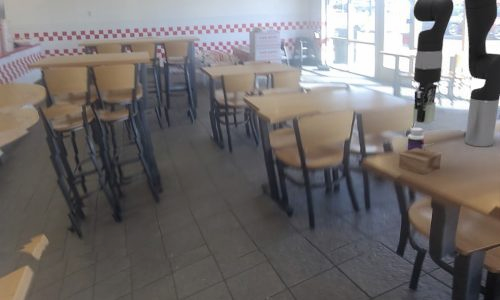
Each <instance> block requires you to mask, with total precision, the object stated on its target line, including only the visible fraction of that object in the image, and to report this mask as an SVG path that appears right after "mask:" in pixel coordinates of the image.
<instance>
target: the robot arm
mask: <svg viewBox="0 0 500 300" xmlns="http://www.w3.org/2000/svg"><path fill="white" fill-rule="evenodd" d="M497 2H498V1H497V0H464V8H465V9H464V11H465V18H466V25H467V38H468V60H467V61H468V71H469V75H470V76H471V77H472V78H474V79H478V80H484V83H483V86H482V87H479V88H475V89H472V90H471V92H470V97H469V98H470V99H469V107H468V114H467V115H468V116H467V124H466V130H465V131H466V132H465V136H464V137H465V138H464V143H465V144H466V145H469V146H474V147H480V148H481V147H483V148H485V147H491V146H492V145H493V144H494V136H495V132H496V126H497V125H496V123H497V119H498V118H497V116H498V110H499V102H500V53H487V47H486V44H487V43H486V42H487V38H488V35H489V33H490V31H491V30H492V28H493V26H494V24H495V22H496V20H497V16H498V3H497ZM453 12H454V1H453V0H416V2H415V4H414V7H413V16H414V18H415V19H416V20H417V21H419V22H424V23H425V22H427V23H429V22H434V24H433V25H432V27H431V28H429V29H425V30H422V31H419V33H418V36H417V48H416V55H415V59H414V60H415V62H414V71H413V72H414V74H413V81H414V82H416V83H419V86H418V88H417V90H415V91H414V104H415V109H417V122H424V121H425V110H426V105H427V103H429V102H435V100H436V92H437V88H438V85H437V84H435V83H439V82H441V77H442V65H443V50H444V49H443V47H444V37H445V33H446V30H447V28H448V25H449V22H450V20H451V18H452V15H453ZM420 103H421V106H420Z"/></svg>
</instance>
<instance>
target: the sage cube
mask: <svg viewBox="0 0 500 300" xmlns="http://www.w3.org/2000/svg"><path fill="white" fill-rule="evenodd" d="M420 106H421V103H420ZM435 112H436V102H435V101H434V102H429V103H427V105H426V110H425V121H424V122H417V109H415V103H413V112H412V113H413V114H412V123H415V124H422V125H423V124H424V125H430V124H431V123H433V122H434V121H435V114H436V113H435Z"/></svg>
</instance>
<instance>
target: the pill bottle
mask: <svg viewBox="0 0 500 300" xmlns="http://www.w3.org/2000/svg"><path fill="white" fill-rule="evenodd" d="M409 132H410V133H409V134H408V135H407V142H406V143H407V145H406V147H407V148H406V151H409V150H412V149H414V148H419V149H423V150H424V145H425V135H424V134H423V133H424V129H423V128H421V127H411V128H410V131H409Z"/></svg>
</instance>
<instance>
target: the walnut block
mask: <svg viewBox="0 0 500 300" xmlns="http://www.w3.org/2000/svg"><path fill="white" fill-rule="evenodd" d="M441 159H442V154H441V153H439V152H435V151H430V150H426V149H424V148H423V149H419V148H414V149H412V150H409V151H407V150H405V151H403V152H401V153H399V159H398V160H399V163H398V167H399V168H400V167H401V169H403V168H404V170H406V169H407V171H410V172H414V173H416V174H420V175H422V176H423V175H426V174H428V173H430V172H433V171H436V170H438V169H440V167H441Z"/></svg>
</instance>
